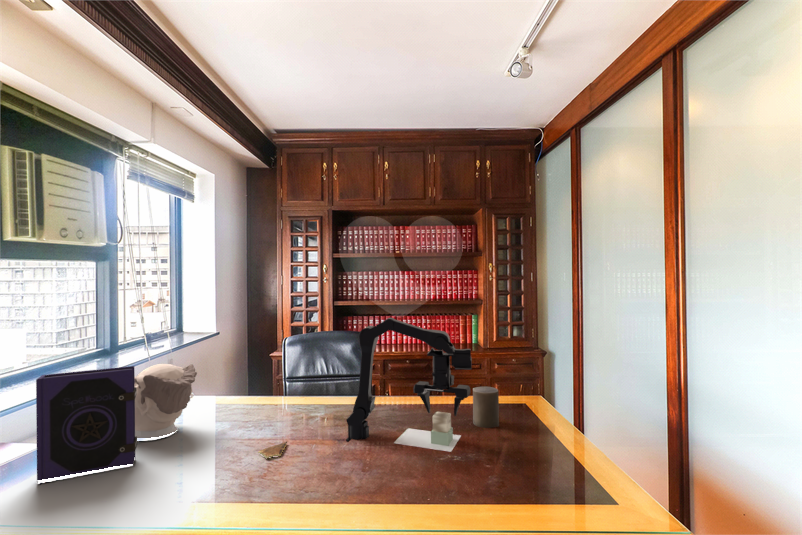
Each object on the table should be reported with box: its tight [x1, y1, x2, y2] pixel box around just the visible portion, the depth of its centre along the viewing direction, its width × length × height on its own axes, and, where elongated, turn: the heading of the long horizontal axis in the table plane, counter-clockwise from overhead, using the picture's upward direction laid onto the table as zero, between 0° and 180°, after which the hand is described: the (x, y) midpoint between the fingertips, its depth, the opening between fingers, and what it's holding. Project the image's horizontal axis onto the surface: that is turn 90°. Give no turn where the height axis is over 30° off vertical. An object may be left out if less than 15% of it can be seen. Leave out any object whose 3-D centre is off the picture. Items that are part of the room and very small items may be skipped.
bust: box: [135, 363, 198, 438], centre depth 156 cm, size 26×20×30 cm
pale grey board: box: [393, 427, 462, 453], centre depth 145 cm, size 20×14×1 cm
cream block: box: [432, 411, 452, 433], centre depth 143 cm, size 5×5×5 cm
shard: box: [257, 441, 288, 458], centre depth 138 cm, size 11×8×2 cm
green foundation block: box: [431, 426, 454, 446], centre depth 143 cm, size 6×6×4 cm
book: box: [35, 365, 138, 481], centre depth 127 cm, size 24×6×30 cm, turn 117°
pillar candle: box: [472, 386, 500, 429], centre depth 160 cm, size 10×10×15 cm
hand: (442, 414), depth 143 cm, fingers open, 9 cm apart
